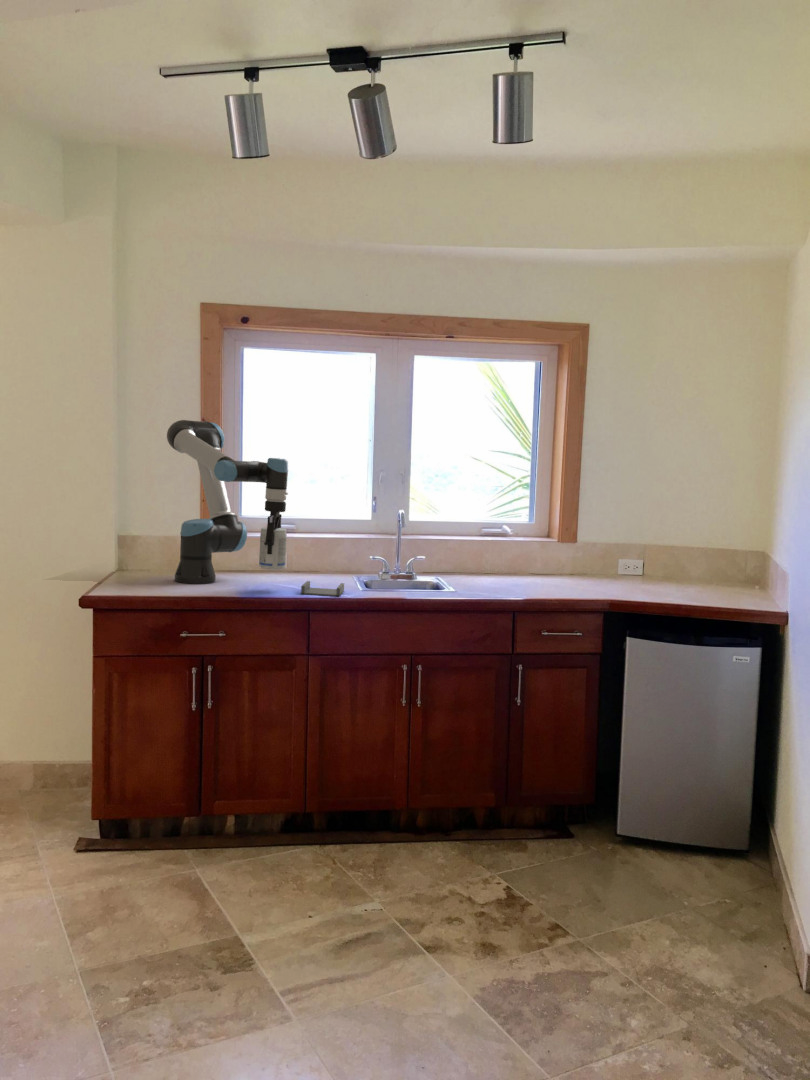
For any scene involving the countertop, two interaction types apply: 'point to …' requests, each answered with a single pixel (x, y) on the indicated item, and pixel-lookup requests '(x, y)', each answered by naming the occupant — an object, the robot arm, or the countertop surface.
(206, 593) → the countertop surface
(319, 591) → the end holder
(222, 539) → the robot arm
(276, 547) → the supplement tub
